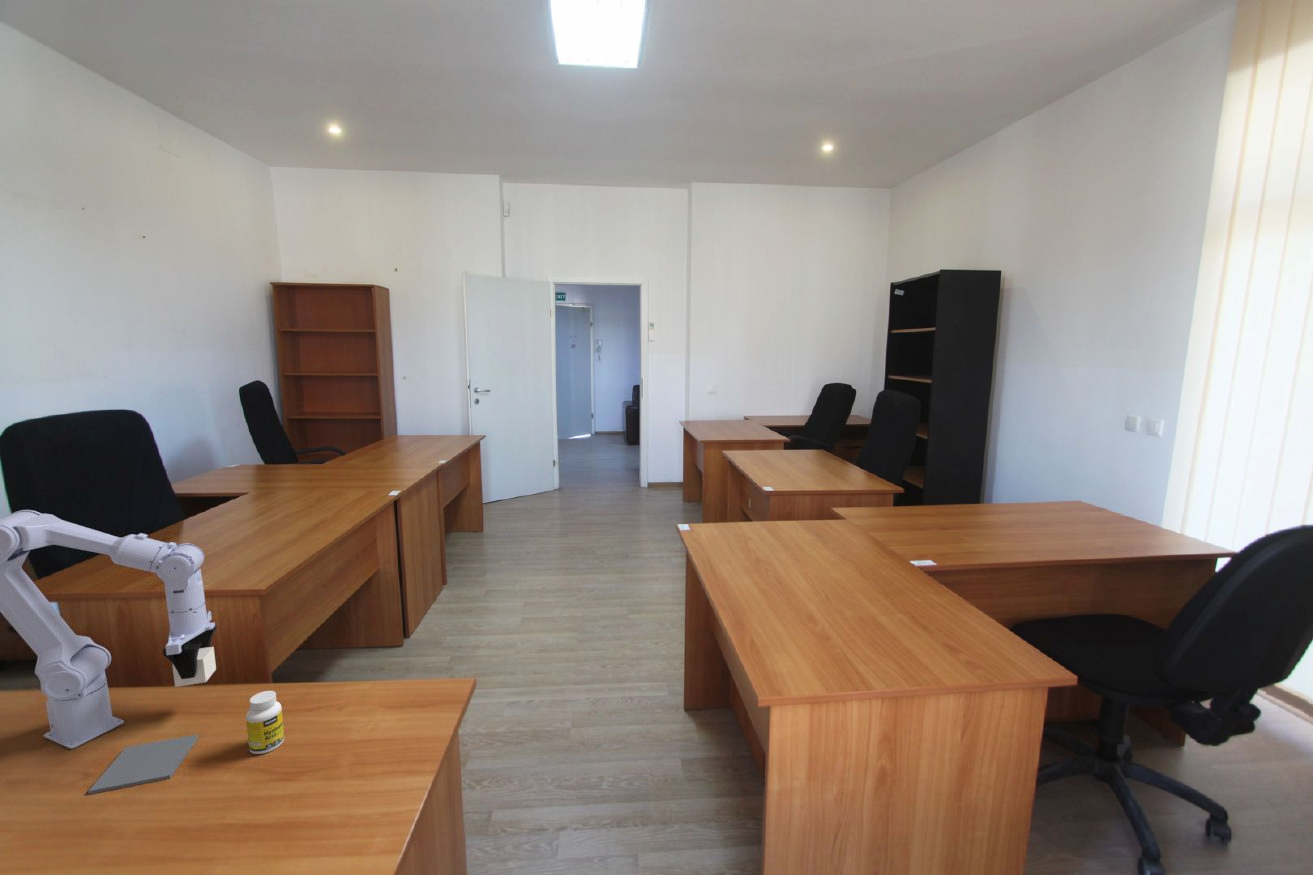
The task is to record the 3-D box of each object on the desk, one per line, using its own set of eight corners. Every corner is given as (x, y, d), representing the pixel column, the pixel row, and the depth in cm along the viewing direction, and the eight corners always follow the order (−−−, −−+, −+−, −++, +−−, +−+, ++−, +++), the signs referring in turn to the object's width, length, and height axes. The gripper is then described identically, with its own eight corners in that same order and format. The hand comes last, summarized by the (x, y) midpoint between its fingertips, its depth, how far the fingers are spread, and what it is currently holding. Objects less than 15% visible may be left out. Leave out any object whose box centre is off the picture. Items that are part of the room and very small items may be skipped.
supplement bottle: (266, 757, 101) (261, 707, 99) (242, 752, 102) (236, 703, 100) (291, 737, 106) (287, 689, 104) (268, 733, 107) (262, 686, 105)
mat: (88, 794, 92) (88, 791, 92) (126, 749, 102) (125, 746, 102) (170, 778, 96) (169, 775, 95) (198, 736, 106) (198, 734, 106)
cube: (175, 686, 110) (172, 663, 109) (186, 673, 114) (184, 650, 113) (205, 682, 111) (202, 658, 110) (216, 668, 116) (213, 646, 115)
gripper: (194, 619, 105) (203, 686, 107) (225, 589, 118) (232, 648, 120) (148, 625, 103) (157, 693, 105) (185, 593, 116) (192, 654, 118)
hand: (194, 669), depth 112 cm, fingers closed on cube, 5 cm apart
